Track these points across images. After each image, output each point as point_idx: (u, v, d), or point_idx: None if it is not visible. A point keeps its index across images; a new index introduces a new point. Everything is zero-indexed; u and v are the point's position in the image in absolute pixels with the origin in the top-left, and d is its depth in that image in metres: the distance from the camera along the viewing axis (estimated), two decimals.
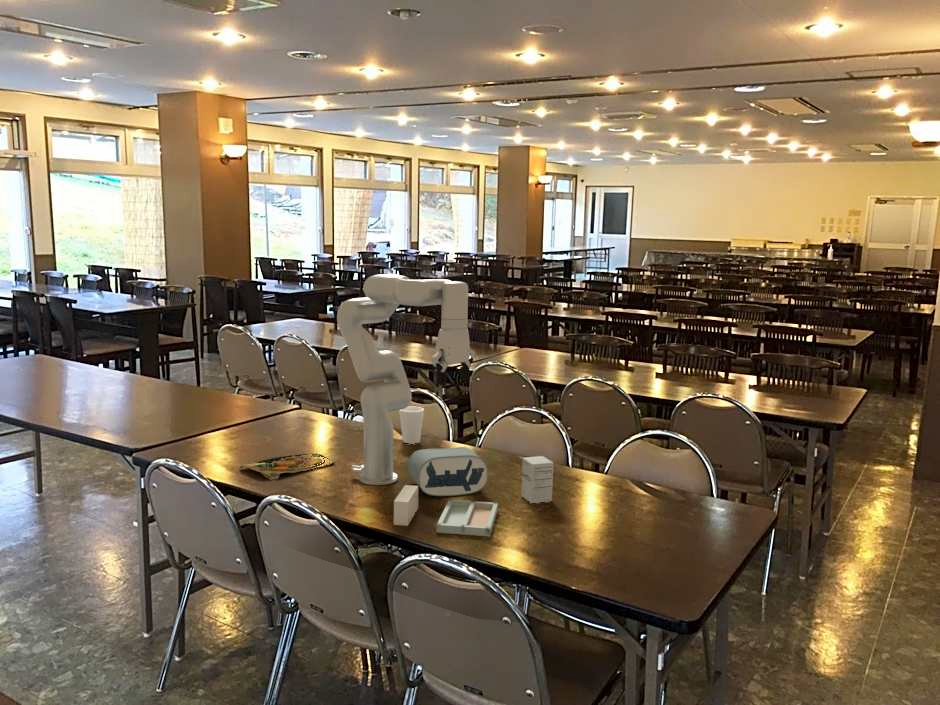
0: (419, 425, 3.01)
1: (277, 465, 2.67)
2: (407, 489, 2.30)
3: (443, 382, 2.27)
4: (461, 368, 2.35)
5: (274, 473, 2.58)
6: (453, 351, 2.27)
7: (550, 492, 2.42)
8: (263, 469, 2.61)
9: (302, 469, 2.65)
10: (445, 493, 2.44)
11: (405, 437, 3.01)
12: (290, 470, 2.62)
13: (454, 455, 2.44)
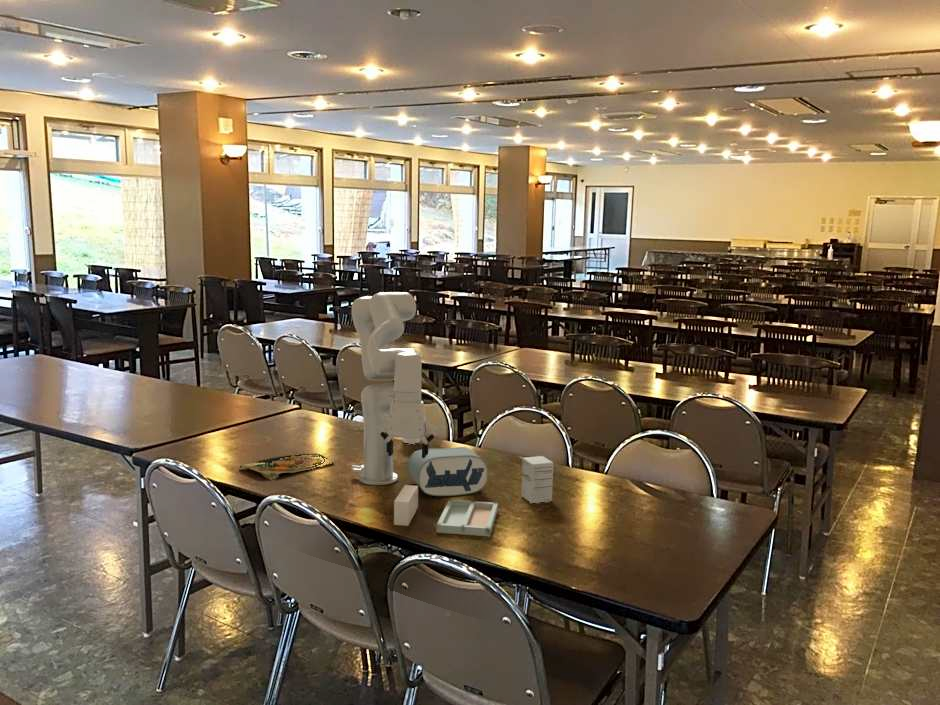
0: None
1: (276, 465, 2.67)
2: (407, 489, 2.30)
3: None
4: (391, 443, 2.24)
5: (273, 473, 2.59)
6: None
7: (550, 492, 2.42)
8: (262, 469, 2.61)
9: (301, 469, 2.65)
10: (445, 493, 2.44)
11: None
12: (289, 470, 2.62)
13: (454, 455, 2.44)
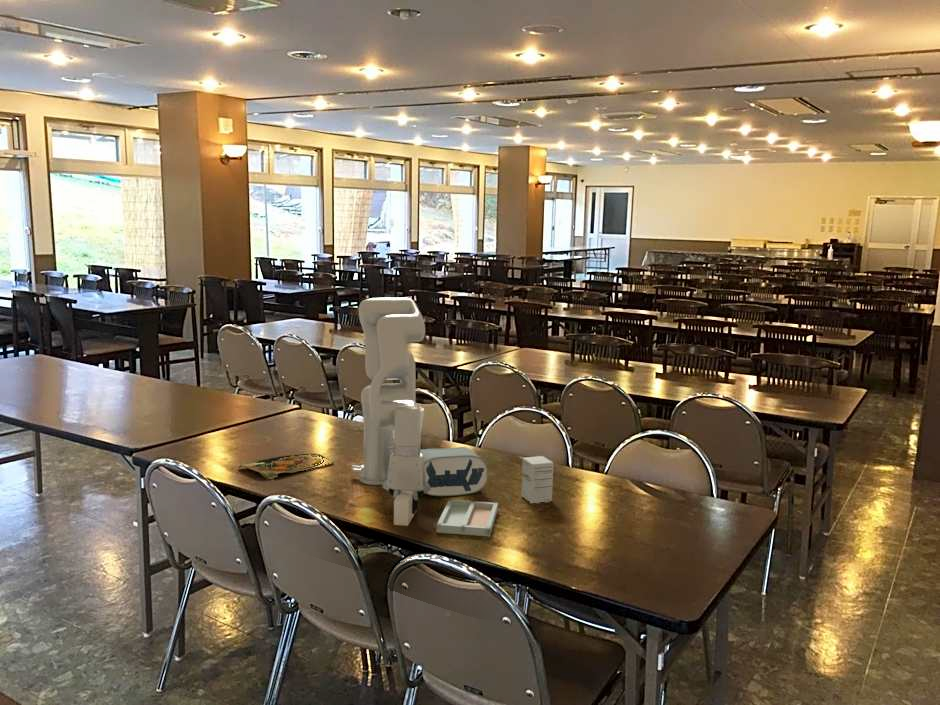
0: None
1: (276, 465, 2.67)
2: None
3: None
4: None
5: (272, 473, 2.59)
6: None
7: (550, 492, 2.42)
8: (262, 469, 2.61)
9: (301, 469, 2.65)
10: (445, 493, 2.44)
11: None
12: (289, 470, 2.62)
13: (454, 455, 2.44)
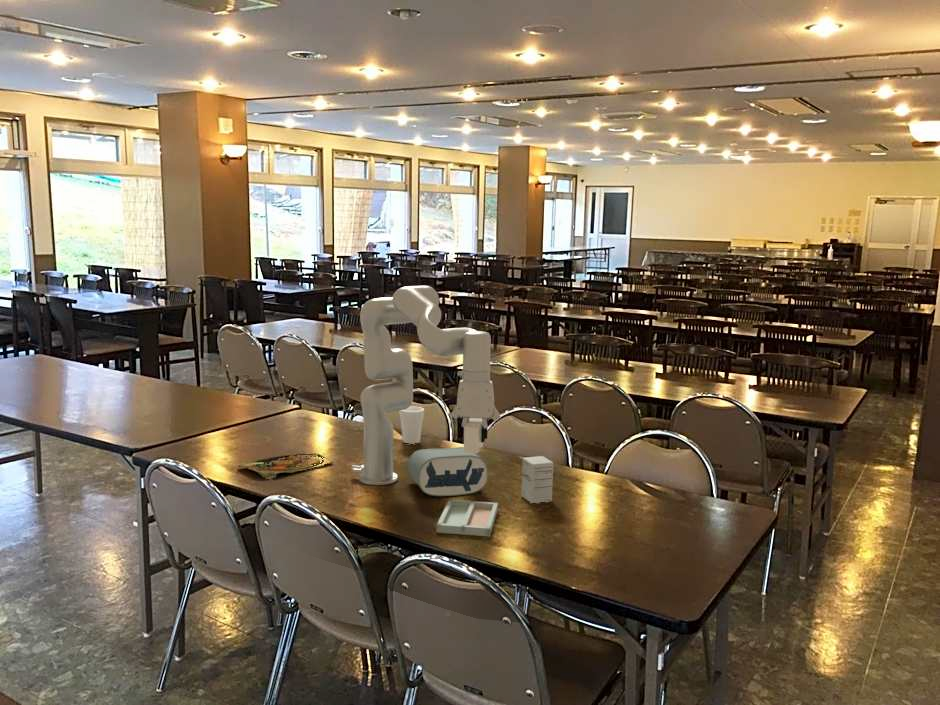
0: (419, 425, 3.01)
1: (275, 465, 2.67)
2: (475, 418, 2.24)
3: None
4: None
5: (271, 473, 2.59)
6: None
7: (550, 492, 2.42)
8: (260, 469, 2.61)
9: (299, 469, 2.65)
10: (445, 493, 2.44)
11: (405, 437, 3.01)
12: (287, 470, 2.63)
13: (454, 455, 2.44)
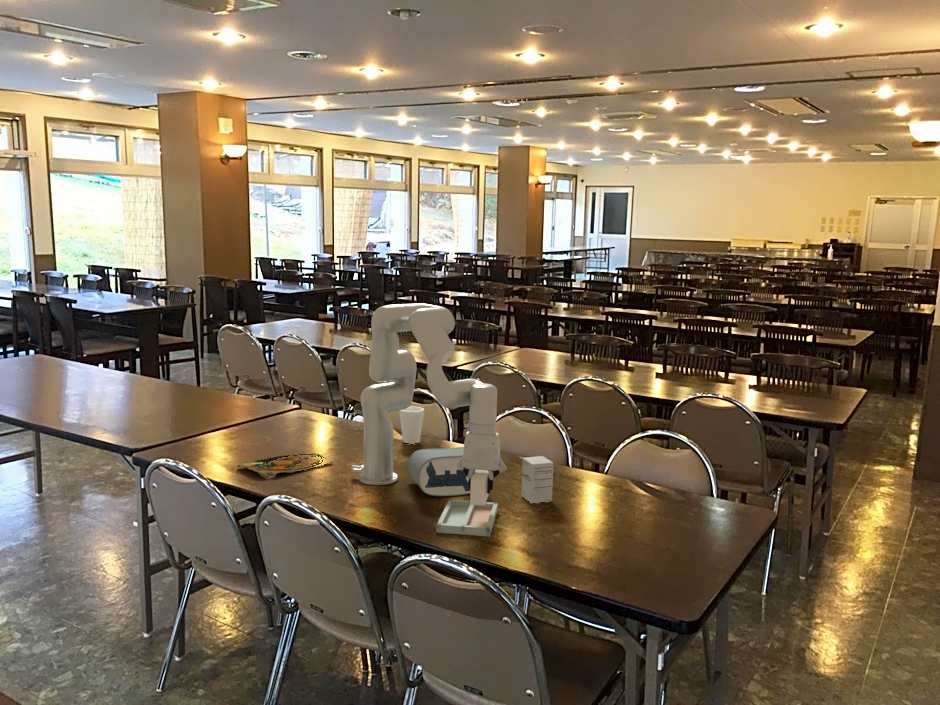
0: (419, 425, 3.01)
1: (274, 465, 2.67)
2: None
3: None
4: None
5: (271, 473, 2.59)
6: None
7: (550, 492, 2.42)
8: (260, 469, 2.61)
9: (299, 469, 2.65)
10: (445, 493, 2.44)
11: (405, 437, 3.01)
12: (287, 470, 2.63)
13: (454, 455, 2.44)
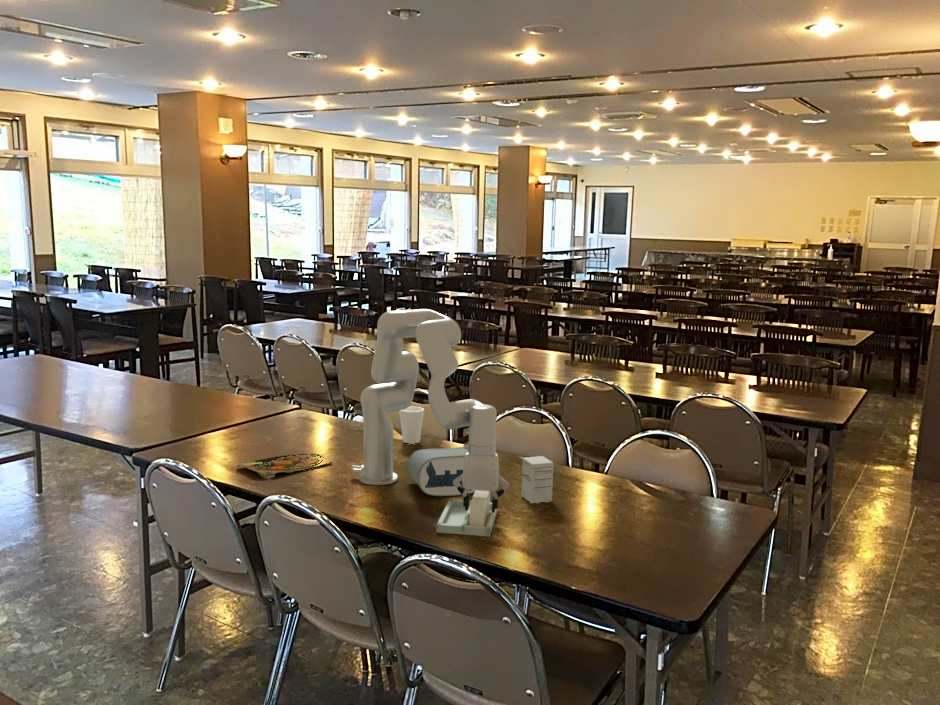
0: (419, 425, 3.01)
1: (274, 465, 2.67)
2: (480, 491, 2.27)
3: None
4: (468, 498, 2.24)
5: (270, 472, 2.59)
6: None
7: (550, 492, 2.42)
8: (259, 468, 2.61)
9: (298, 469, 2.65)
10: (445, 493, 2.44)
11: (405, 437, 3.01)
12: (286, 470, 2.63)
13: (454, 455, 2.44)
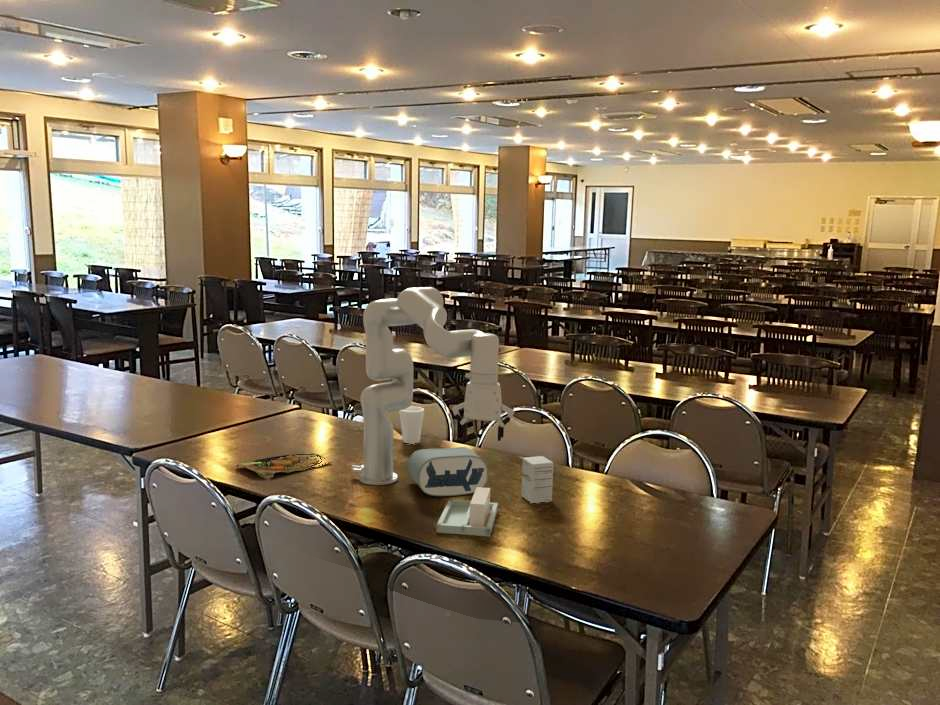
0: (419, 425, 3.01)
1: (273, 464, 2.67)
2: (480, 491, 2.27)
3: None
4: (466, 426, 2.20)
5: (269, 472, 2.59)
6: None
7: (550, 492, 2.42)
8: (258, 468, 2.62)
9: (297, 469, 2.65)
10: (445, 493, 2.44)
11: (405, 437, 3.01)
12: (285, 470, 2.63)
13: (454, 455, 2.44)
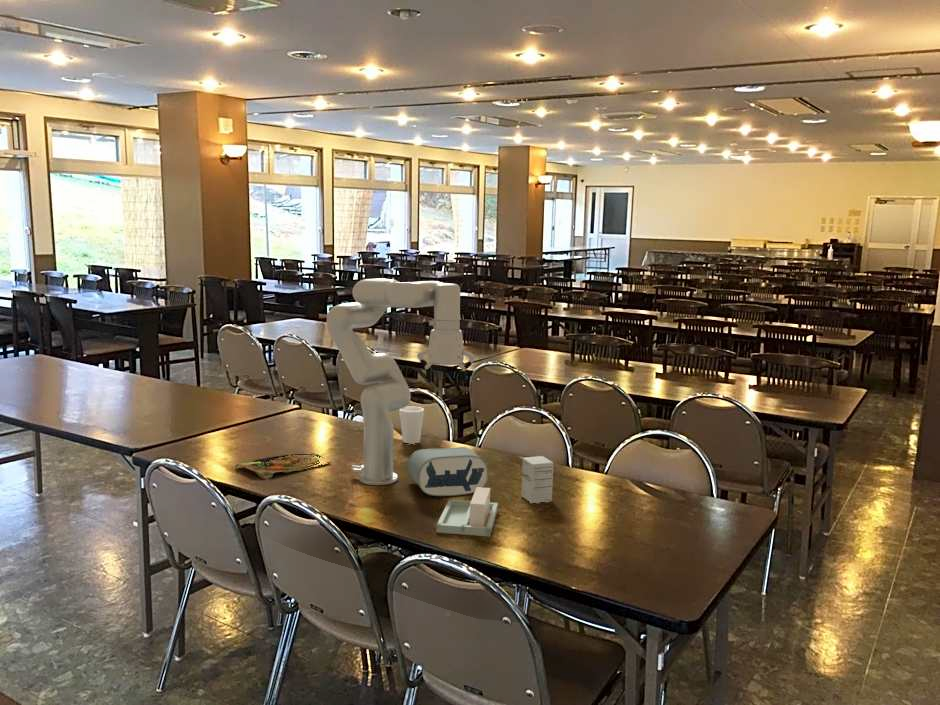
0: (419, 425, 3.01)
1: (272, 464, 2.68)
2: (480, 491, 2.27)
3: None
4: (430, 370, 2.36)
5: (268, 472, 2.59)
6: None
7: (550, 492, 2.42)
8: (257, 468, 2.62)
9: (296, 469, 2.65)
10: (445, 493, 2.44)
11: (405, 437, 3.01)
12: (284, 469, 2.63)
13: (454, 455, 2.44)
